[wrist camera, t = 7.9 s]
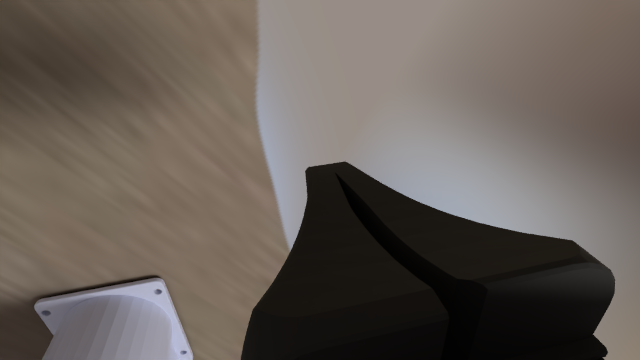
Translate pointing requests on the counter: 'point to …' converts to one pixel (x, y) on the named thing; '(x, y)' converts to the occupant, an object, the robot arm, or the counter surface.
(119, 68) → the counter surface
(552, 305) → the robot arm
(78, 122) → the counter surface
